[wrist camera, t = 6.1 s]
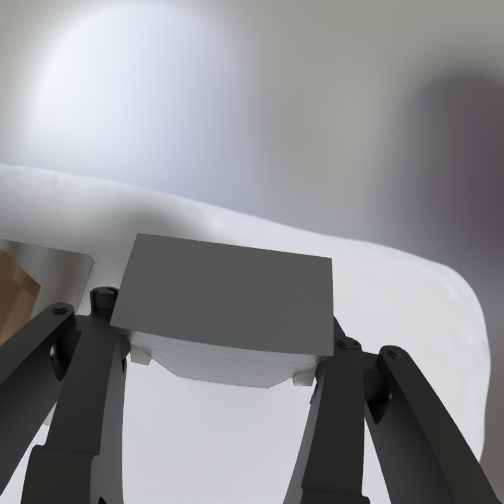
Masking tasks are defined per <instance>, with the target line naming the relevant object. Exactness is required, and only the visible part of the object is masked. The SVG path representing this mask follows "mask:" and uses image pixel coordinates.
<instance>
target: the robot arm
mask: <svg viewBox="0 0 504 504" xmlns="http://www.w3.org/2000/svg"><path fill="white" fill-rule="evenodd" d="M118 293H119V289H117V288H114V287H98V288H95V289H92V290H91V291H90V300H91V313H90V315H89V316H85V315H75V311H74V307H73V306H72V305H71V304H68V303H64V302H60V303H59V302H57V303H54V304H51V305H49V306H48V307H46V308H45V309H44V310H43V311H41V312H40V313H39V314H38V315H36V316H35V317H34V318H33V319H31V320H30V321H29V322H28V323H27V324H25V325H24V326H23V327H22V328H21V329H19V330H18V331H17V332H16V333H15V334H14V335H12V336H11V337H10V338H9V339H8V340H7V341H5V342H4V343H3V344H2V345H1V346H0V495H1V494H2V493H3V491H4V489H5V488H6V486H7V484H8V482H9V481H10V479H11V477H12V475H13V473H14V471H15V469H16V468H17V466H18V464H19V462H20V460H21V459H22V457H23V455H24V453H25V452H26V450H27V448H28V447H29V445H30V443H31V442H32V440H33V438H34V437H35V435H36V433H37V432H38V430H39V428H40V427H41V425H42V424H43V422H44V421H45V419H46V417H47V416H48V414H49V413H50V411H51V410H52V408H53V407H54V405H55V404H56V407H55V410H54V413H53V417H52V421H51V424H50V428H49V432H48V436H47V440H46V443H45V444H44V445H43V446H42V445H35V446H34V447H33V448H32V451H31V453H30V457H29V461H28V466H27V470H26V475H25V480H24V486H23V491H22V498H21V504H124V502H123V489H122V425H123V406H124V392H125V381H126V370H127V361H126V356H127V355H128V353H129V352H130V355H131V362H135V363H139V364H143V365H147V366H148V364H149V362H150V361H151V359H152V358H151V357H150V356H148V355H147V354H145V353H144V352H143V351H141V350H140V349H139V348H138V347H136V346H135V345H134V344H132V343H131V342H130V341H129V340H127V339H126V338H125V337H124V336H122V335H121V334H120V333H119V332H117V331H116V330H115V329H114V328H113V327H111V326H110V322H111V318H112V314H113V310H114V307H115V303H116V300H117V296H118ZM333 317H334V316H333ZM52 347H53V351H54V352H53V354H52V355H50V352H51V348H52ZM314 377H316V381H317V383H316V386H315V389H314V392H313V395H312V398H311V401H310V404H311V406H310V411H309V415H308V419H307V423H306V427H305V431H304V435H303V439H302V442H301V446H300V450H299V453H298V457H297V461H296V464H295V467H294V471H293V474H292V477H291V481H290V484H289V487H288V490H287V493H286V496H285V499H284V502H283V504H370V500H369V498H368V497H365V496H363V495H362V479H363V462H364V416H365V419H366V422H367V425H368V428H369V431H370V434H371V437H372V441H373V444H374V447H375V450H376V453H377V456H378V460H379V463H380V466H381V470H382V473H383V476H384V480H385V483H386V487H387V490H388V494H389V497H390V501H391V504H502V503H501V502H500V501H499V500H498V499H497V497H496V495H495V493H494V491H493V489H492V487H491V485H490V483H489V481H488V480H487V477H486V476H485V474H484V472H483V470H482V468H481V466H480V465H479V463H478V461H477V459H476V457H475V456H474V454H473V452H472V450H471V449H470V447H469V445H468V444H467V442H466V440H465V439H464V437H463V435H462V434H461V432H460V430H459V429H458V427H457V425H456V424H455V422H454V421H453V419H452V417H451V416H450V414H449V413H448V411H447V410H446V408H445V407H444V405H443V403H442V402H441V400H440V399H439V397H438V396H437V394H436V393H435V391H434V390H433V388H432V387H431V385H430V384H429V382H428V381H427V380H426V378H425V377H424V375H423V374H422V372H421V371H420V369H419V368H418V367H417V365H416V364H415V362H414V361H413V359H412V358H411V357H410V355H409V354H408V353H407V352H406V351H405V350H403V349H402V348H401V347H397V346H391V345H387V346H383V347H381V349H380V351H379V354H378V355H377V354H372V353H367V352H364V351H362V347H361V344H360V343H359V342H358V341H356V340H355V339H353V338H350V337H346V335H345V333H344V332H343V330H342V328H341V327H340V325H339V323H338V321H337V319H336V318H335V317H334V351H333V356H332V357H331V358H329V359H327V360H325V361H323V362H321V363H319V364H318V365H316V366H314V367H312V368H310V369H308V370H306V371H304V372H302V373H300V374H298V375H295V376H293V377H292V379H293V384H294V386H312V383H313V380H314ZM56 402H57V403H56Z"/></svg>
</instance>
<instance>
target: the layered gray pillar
mask: <svg viewBox="0 0 504 504" xmlns="http://www.w3.org/2000/svg"><path fill="white" fill-rule="evenodd" d="M110 326H111V327H113V328H114V329H115V330H116V331H117V332H119V333H120V334H121V335H122V336H124V337H125V338H126V339H127V340H129V341H130V342H131V343H132V344H134V345H135V346H136V347H138V348H139V349H140V350H141V351H143V352H144V353H145V354H147V355H148V356H150V357H151V358H152V359H154V360H155V361H156V362H158V363H159V364H161V365H162V366H163V367H165V368H166V369H168V370H169V371H171V372H172V373H173V374H175V375H176V376H179V377H184V378H190V379H195V380H202V381H208V382H215V383H222V384H230V385H238V386H248V387H258V388H270V387H272V386H275V385H277V384H279V383H281V382H283V381H285V380H288V379H290V378H292V377H293V376H295V375H298V374H300V373H302V372H304V371H306V370H308V369H310V368H312V367H314V366H316V365H318V364H319V363H321V362H323V361H325V360H327V359H329V358H331V357H332V356H333V351H334V317H333V279H332V258H326V257H319V256H311V255H304V254H296V253H288V252H281V251H273V250H266V249H258V248H250V247H242V246H235V245H227V244H219V243H211V242H204V241H196V240H188V239H180V238H172V237H164V236H156V235H148V234H140V233H138V235H137V238H136V240H135V243H134V246H133V249H132V252H131V255H130V258H129V261H128V264H127V267H126V270H125V273H124V276H123V279H122V283H121V286H120V289H119V293H118V296H117V300H116V303H115V307H114V310H113V314H112V318H111V322H110Z"/></svg>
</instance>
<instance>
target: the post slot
mask: <svg viewBox="0 0 504 504" xmlns="http://www.w3.org/2000/svg"><path fill="white" fill-rule="evenodd" d="M93 262H94V261H93V259H92V258H91V257H90V255H85V254H80V253H74V252H68V251H62V250H57V249H51V248H46V247H40V246H35V245H30V244H24V243H19V242H14V241H9V240H4V239H0V346H1V345H2V344H3V343H4V342H5V341H7V340H8V339H9V338H10V337H11V336H12V335H14V334H15V333H16V332H17V331H18V330H19V329H21V328H22V327H23V326H24V325H25V324H27V323H28V322H29V321H30V320H31V319H33V318H34V317H35V316H36V315H38V314H39V313H40V312H41V311H43V310H44V309H45V308H46V307H48V306H49V305H51V304H54V303H57V302H59V303H60V302H64V303H68V304H71V305H72V306H73V307H74V311H75V315H76V313H77V310H78V307H79V303H80V300H81V297H82V294H83V291H84V288H85V285H86V282H87V279H88V276H89V273H90V271H91V268H92V265H93ZM53 352H54V351H53V347H52V348H51V352H50V355H52V354H53ZM56 403H57V402H56ZM55 407H56V404H55V405H54V407H53V408H52V410H51V411H50V413H49V414H48V416H47V417H46V419H45V421H44V422H43V424H45V425H50V424H51V421H52V417H53V413H54V410H55Z"/></svg>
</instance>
